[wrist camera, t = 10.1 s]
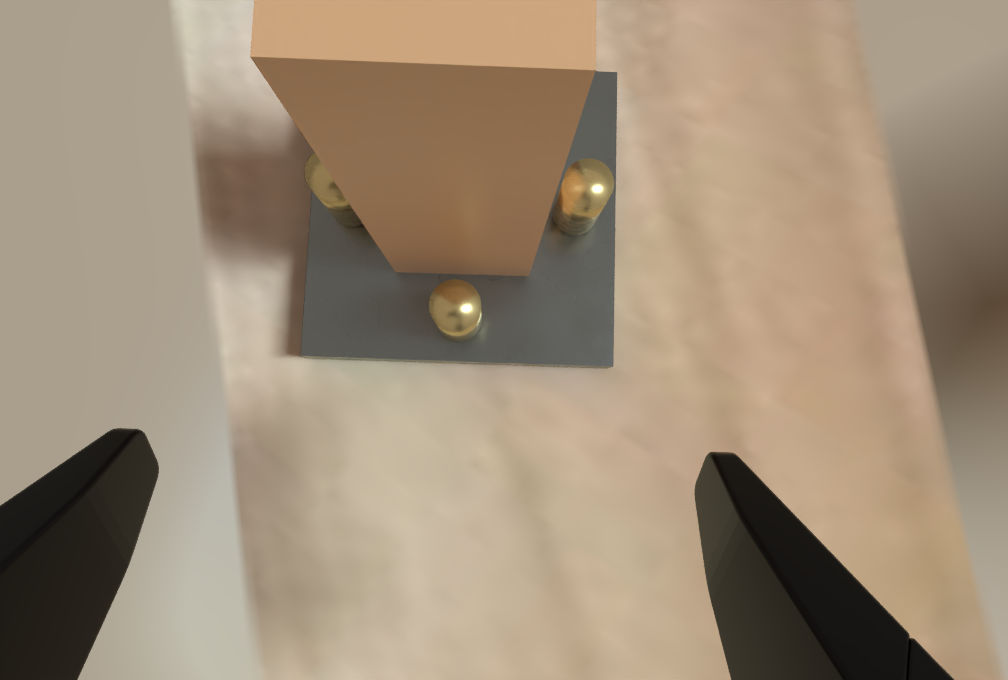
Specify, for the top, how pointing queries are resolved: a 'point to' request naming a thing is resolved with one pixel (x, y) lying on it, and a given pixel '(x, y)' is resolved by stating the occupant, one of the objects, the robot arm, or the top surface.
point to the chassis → (475, 276)
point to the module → (436, 116)
